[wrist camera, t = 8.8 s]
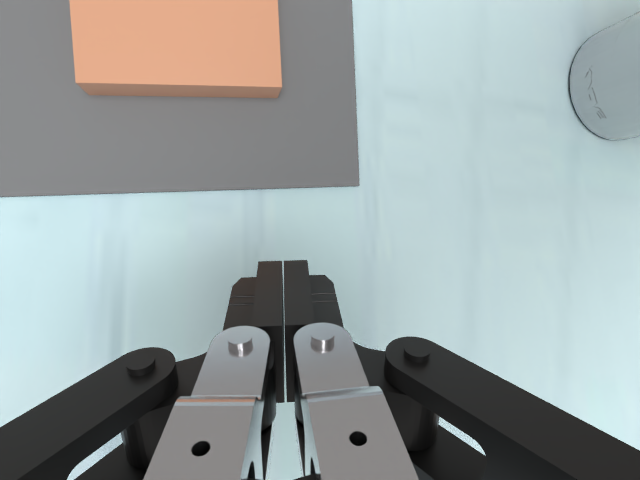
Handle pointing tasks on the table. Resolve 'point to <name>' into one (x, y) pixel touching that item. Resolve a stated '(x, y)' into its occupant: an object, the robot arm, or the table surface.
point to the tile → (177, 47)
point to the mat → (175, 115)
